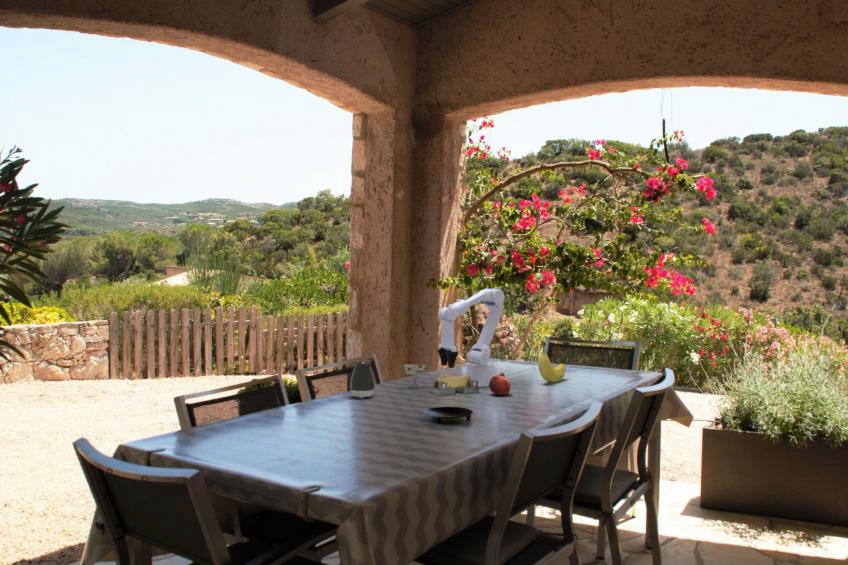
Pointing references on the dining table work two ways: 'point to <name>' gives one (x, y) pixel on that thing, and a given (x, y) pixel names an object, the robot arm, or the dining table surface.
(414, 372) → the mechanical component
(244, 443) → the dining table surface
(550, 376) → the banana
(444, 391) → the chain end
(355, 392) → the dark grey speaker
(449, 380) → the master link
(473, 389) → the chain end
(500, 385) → the fruit
